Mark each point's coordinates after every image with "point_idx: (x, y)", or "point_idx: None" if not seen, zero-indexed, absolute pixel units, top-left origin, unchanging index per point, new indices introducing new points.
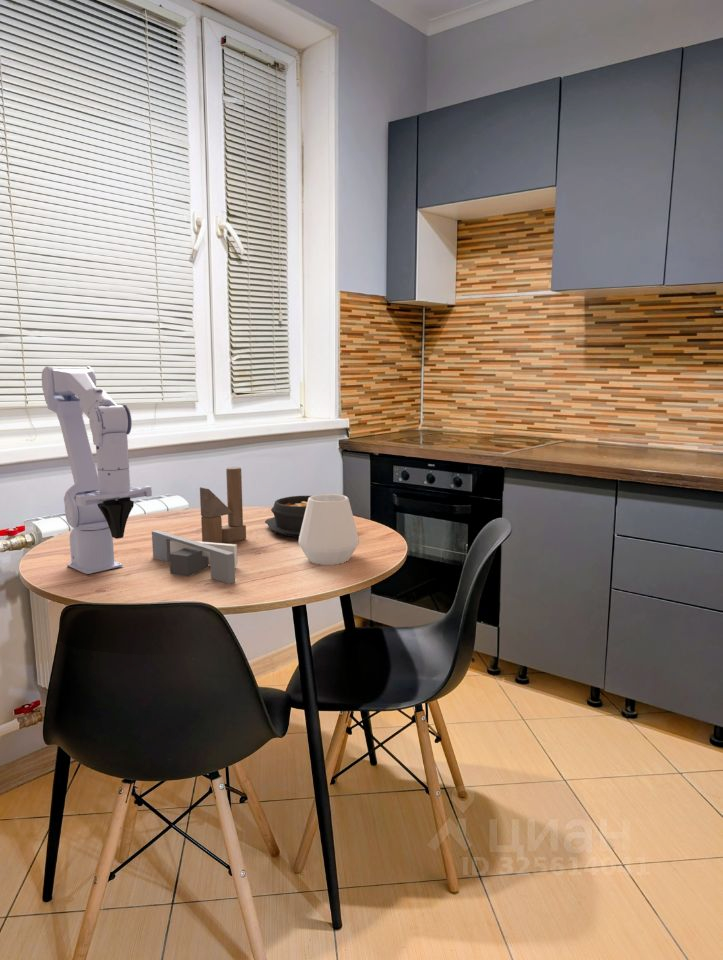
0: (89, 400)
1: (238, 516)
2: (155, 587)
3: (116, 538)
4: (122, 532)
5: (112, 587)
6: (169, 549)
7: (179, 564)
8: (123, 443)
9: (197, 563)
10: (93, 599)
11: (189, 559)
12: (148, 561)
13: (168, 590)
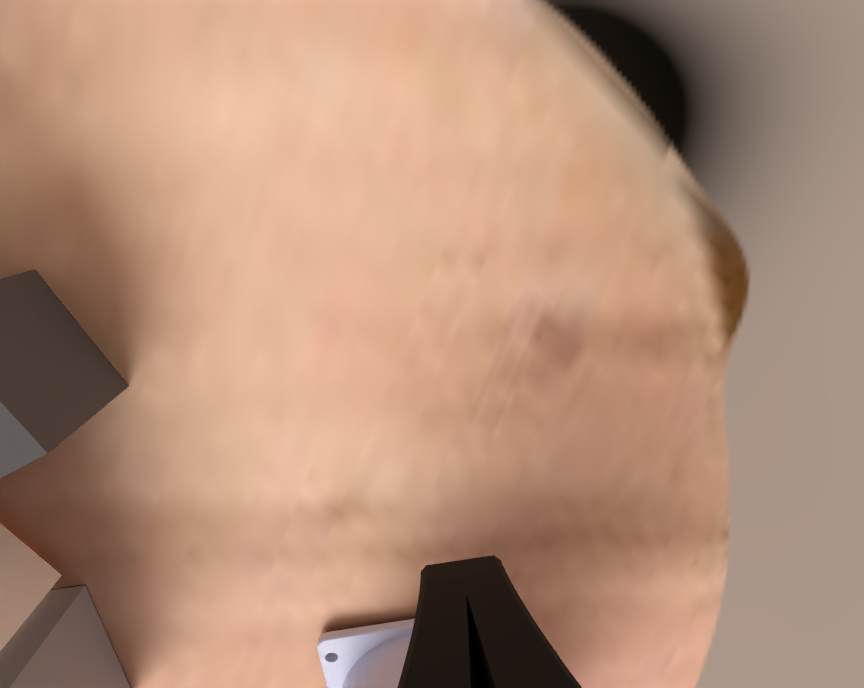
0: None
1: None
2: (290, 197)
3: (500, 563)
4: (442, 601)
5: (488, 357)
6: (18, 651)
7: (32, 351)
8: None
9: None
10: (649, 225)
11: None
12: (175, 647)
13: (239, 76)
